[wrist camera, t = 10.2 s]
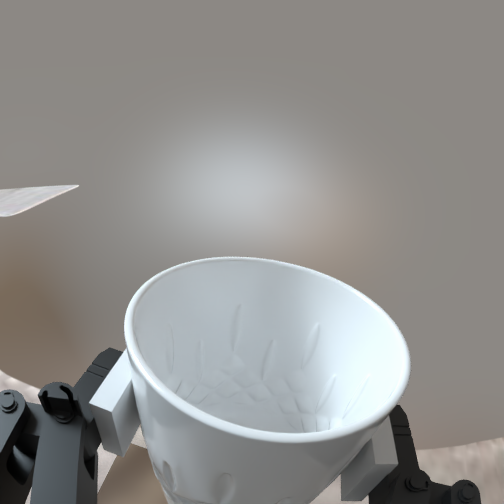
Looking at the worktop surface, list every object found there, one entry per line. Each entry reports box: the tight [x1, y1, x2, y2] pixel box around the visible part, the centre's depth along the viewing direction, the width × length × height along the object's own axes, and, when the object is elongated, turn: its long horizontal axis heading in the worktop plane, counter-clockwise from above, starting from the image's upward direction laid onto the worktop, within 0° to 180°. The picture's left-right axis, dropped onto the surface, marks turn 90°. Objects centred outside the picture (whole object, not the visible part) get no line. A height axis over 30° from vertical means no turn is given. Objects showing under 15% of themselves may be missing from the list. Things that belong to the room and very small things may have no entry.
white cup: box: [124, 257, 411, 504], centre depth 11 cm, size 8×8×10 cm
